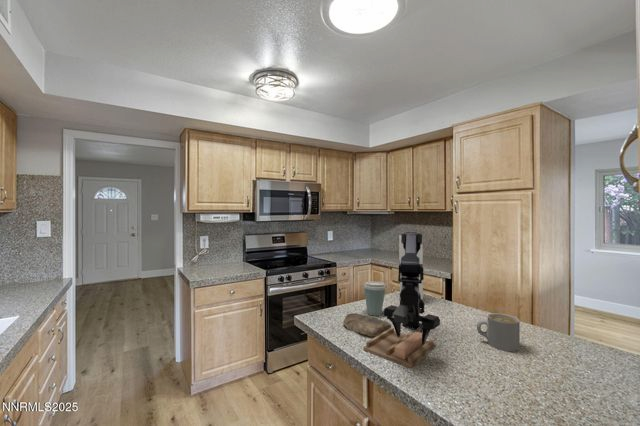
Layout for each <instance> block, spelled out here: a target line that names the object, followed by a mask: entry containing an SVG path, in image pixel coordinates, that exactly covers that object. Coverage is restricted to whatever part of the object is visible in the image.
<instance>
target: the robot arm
mask: <svg viewBox="0 0 640 426" xmlns="http://www.w3.org/2000/svg"><path fill="white" fill-rule="evenodd" d="M422 237H423V234H422V233H419V232H417V231H406V232H404V233H402V234H401V243H402V244H403V248H404V250H405V255H404V256H403V257H402V258H401V263H399V262H398V263H399V264H398V275H397V276H398V278H397V282H399V283H400V282H402V289H401V293H400V292H399V305H398V306H396V305H392V304H391V305H388V306H386V307H384V308H383V310H382V312H383V317H386V319H387V320H389V321H390V322H391V325H392V327H393V328H394V331H396V334H397V337H400V333H402V332H401V331H402V330H401V329H402V326H403V327H405V328H410V329H413V330H418V329H421V332H422V345H424V344H425V342H426V341H427V340H428V337H429V334H430V332H431V331H432V330H435V329H436V328H437V327H439V326H440V325H441V319H440V317H439V316H437V315H435V314H434V315H433V314H430V313H427V314H426V315H425V316H424V315H423V314H425V302H424V298H423V299H421V294H420V292H419V283H422V280H423V281H424V279H425V277H424V276H425V275H424V267H422V264H419V258H418V257H417V253H418V251H419V250H420V248H421V244H422ZM400 276H402V277H401V279H400ZM418 277H420V280H419V278H418ZM400 298H401V300H400ZM420 314H421V315H420Z"/></svg>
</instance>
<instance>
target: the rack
mask: <svg viewBox="0 0 640 426" xmlns="http://www.w3.org/2000/svg"><path fill="white" fill-rule="evenodd" d="M407 335H408V334H405V333H403V332H400V337H397V334H396V331H395V330H394V332H393V333H392V334H390V335H388V336H387V337H385V338H384V339H382V340H380V341H379V342H377V343H375V344H374V345H372V346H371V347H369V348H368V347H366V345H365V346H363V351H365V352H367V353H370V354H372V355H375V356H378V357H380V358H383V359H384V360H385V359H386V360H388V361H391V362H393V363H396V364H398V365H401V366H403V367H406V368H409V369H412V368H413V367H414V366H416V365H417V363H419V362H420V361H421V360H423V358H425V356H427V355H428V354H430V352H431V351H433V350H434V349H435V348H436V347H437V343H435V342H434V344H433V345H432V346H431V347H430V348H429V349H427V350H426V351H425V352H424V353H423V354H422V355H420V356H419V357H418V358H417V359H416V360H414V361H413V362H412V363H408V357H409V356H410V355H409V356H408V357H407V358H406V359H403V358H400V357H397V356H395V351H394V352H392V353H391V354H390V355H387V354H386V349H388V348H389V347H390V346H392V345H393V344H395V343H396V342H398V341H399V340H401V339H402V338H404V337H405V336H407ZM428 341H429V340H426V342H425V343H427V342H428ZM422 346H423V345H422ZM422 346H421V347H422ZM419 348H420V347H419ZM419 348H418V349H419ZM418 349H417V350H418ZM417 350H416V351H417ZM414 352H415V351H414ZM414 352H413V353H414ZM413 353H412V354H413ZM412 354H411V355H412Z"/></svg>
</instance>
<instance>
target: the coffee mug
mask: <svg viewBox="0 0 640 426" xmlns="http://www.w3.org/2000/svg"><path fill="white" fill-rule="evenodd" d="M520 323H521V322H520V319H519V318H518V317H516V316H514V315H511V314H506V313H500V312H498V313H497V312H495V313H488V314H487V319H480V320H478V321H477V324H476V331H477V333H478V334H480V335H481V336H482V337H484V338H486V340H487V344H488V345H489V346H490V347H492V348H493V349H496V350H499V351H504V352H511V353H512V352H518V351H519V350H520V349H521V348H520V346H521V345H520V333H521V331H520V328H521V327H520ZM482 325H485V326H486V330H485V331H482Z"/></svg>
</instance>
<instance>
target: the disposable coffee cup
mask: <svg viewBox="0 0 640 426" xmlns="http://www.w3.org/2000/svg"><path fill="white" fill-rule="evenodd" d="M363 289H364V297H365V304H366V312H367V314H368V315H369V316H373V317H375V316H376V317H377V316H381V314H382V312H383V306H384V300H385V294H386V289H387V285H386V284H385V283H384V282H380V281H366V282H364V284H363Z"/></svg>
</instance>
